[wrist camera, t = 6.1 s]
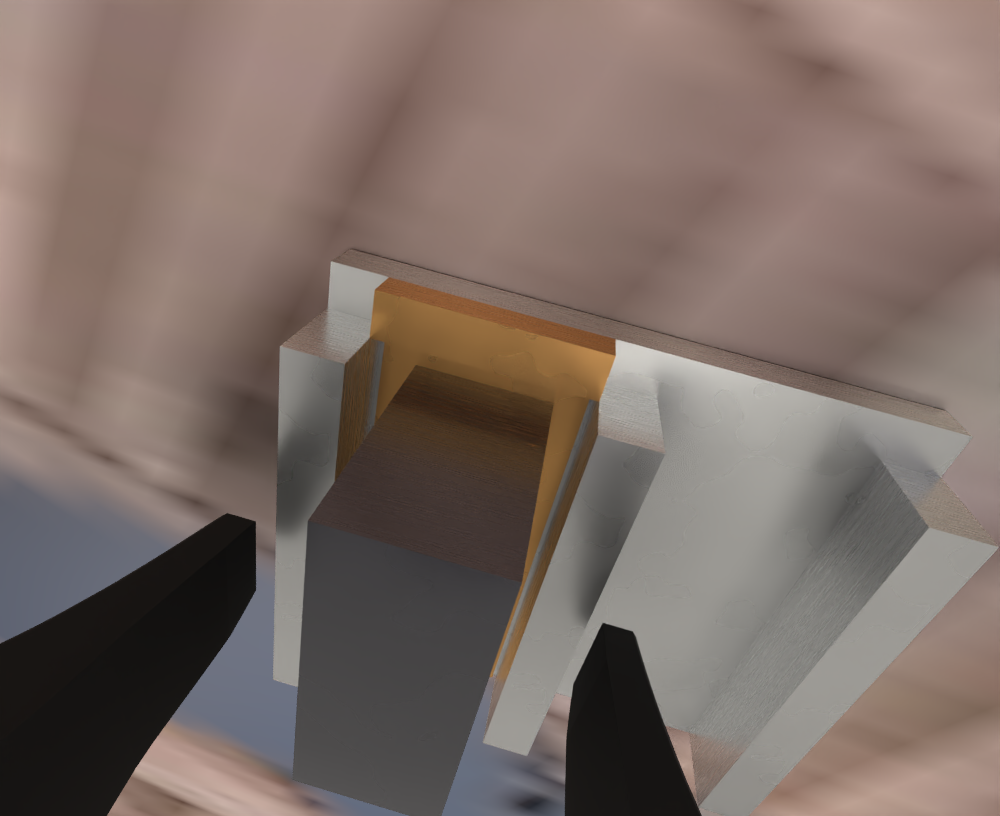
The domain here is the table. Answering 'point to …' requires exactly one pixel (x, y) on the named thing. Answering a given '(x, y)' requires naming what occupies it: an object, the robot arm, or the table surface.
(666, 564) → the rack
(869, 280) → the table surface
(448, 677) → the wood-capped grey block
